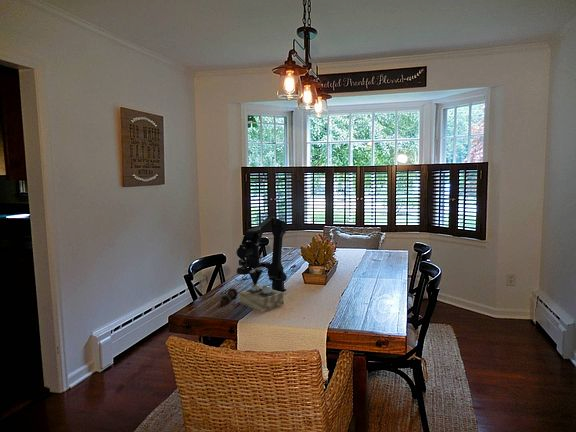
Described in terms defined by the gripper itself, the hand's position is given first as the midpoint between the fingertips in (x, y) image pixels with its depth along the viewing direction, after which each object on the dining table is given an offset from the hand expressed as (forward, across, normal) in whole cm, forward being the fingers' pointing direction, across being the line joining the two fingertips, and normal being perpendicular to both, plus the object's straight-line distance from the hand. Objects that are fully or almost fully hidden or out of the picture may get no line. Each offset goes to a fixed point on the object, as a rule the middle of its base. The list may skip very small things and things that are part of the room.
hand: (255, 284), depth 216 cm
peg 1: (+6, 0, 0) cm, 6 cm away
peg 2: (+5, 0, +9) cm, 10 cm away
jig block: (+9, 0, +4) cm, 10 cm away
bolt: (+10, +8, -13) cm, 18 cm away
